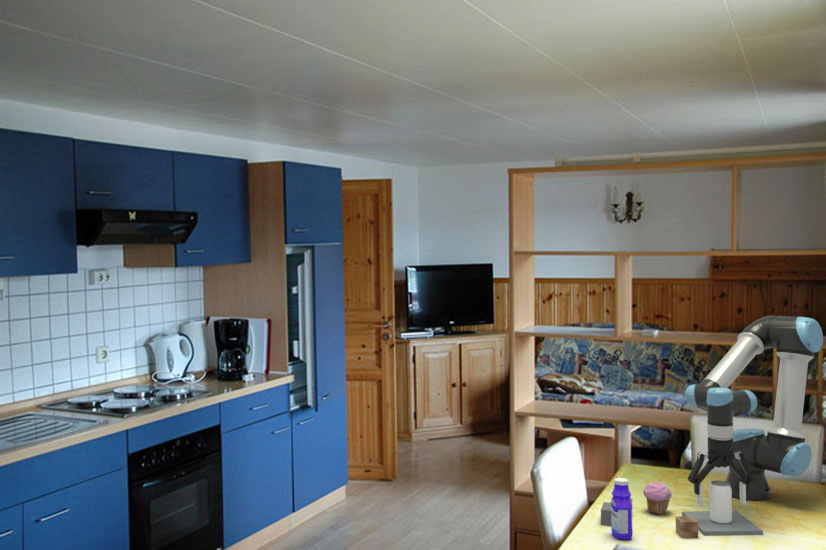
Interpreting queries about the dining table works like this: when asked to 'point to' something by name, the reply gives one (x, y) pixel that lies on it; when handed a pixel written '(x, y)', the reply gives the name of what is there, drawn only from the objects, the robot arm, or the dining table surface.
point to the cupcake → (657, 497)
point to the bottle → (621, 510)
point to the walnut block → (686, 527)
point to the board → (736, 527)
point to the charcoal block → (606, 514)
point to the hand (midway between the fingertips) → (721, 504)
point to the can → (720, 502)
